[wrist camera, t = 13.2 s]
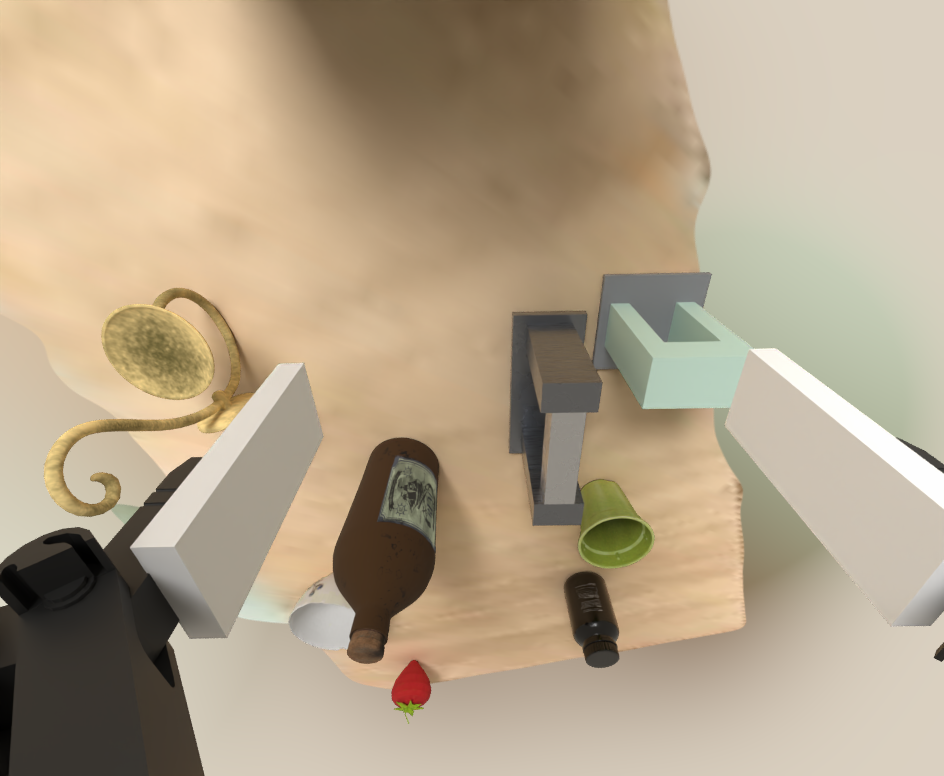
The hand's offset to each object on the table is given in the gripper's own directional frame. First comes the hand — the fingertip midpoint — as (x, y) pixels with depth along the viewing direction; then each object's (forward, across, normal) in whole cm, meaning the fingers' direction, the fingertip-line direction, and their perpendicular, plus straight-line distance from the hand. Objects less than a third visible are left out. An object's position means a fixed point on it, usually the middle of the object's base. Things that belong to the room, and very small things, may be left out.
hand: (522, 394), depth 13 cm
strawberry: (+34, -16, -81) cm, 89 cm away
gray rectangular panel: (+34, +17, -13) cm, 40 cm away
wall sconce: (+34, -30, -12) cm, 47 cm away
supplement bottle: (+34, +15, -58) cm, 69 cm away
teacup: (+34, -24, -58) cm, 72 cm away
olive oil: (+34, -12, -32) cm, 48 cm away
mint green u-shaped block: (+34, +17, -13) cm, 40 cm away
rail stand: (+34, +6, -20) cm, 40 cm away
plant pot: (+34, +15, -39) cm, 54 cm away
